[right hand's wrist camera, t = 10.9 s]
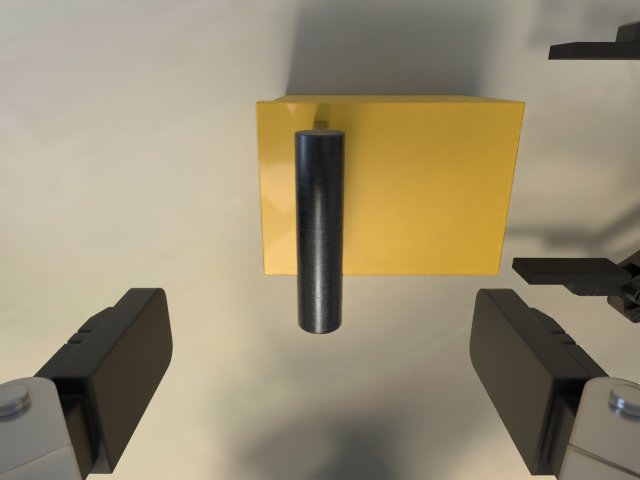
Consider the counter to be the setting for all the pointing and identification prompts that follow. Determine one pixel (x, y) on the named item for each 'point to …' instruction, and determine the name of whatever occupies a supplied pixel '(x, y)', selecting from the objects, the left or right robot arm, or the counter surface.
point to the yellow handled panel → (382, 192)
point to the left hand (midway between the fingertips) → (538, 170)
